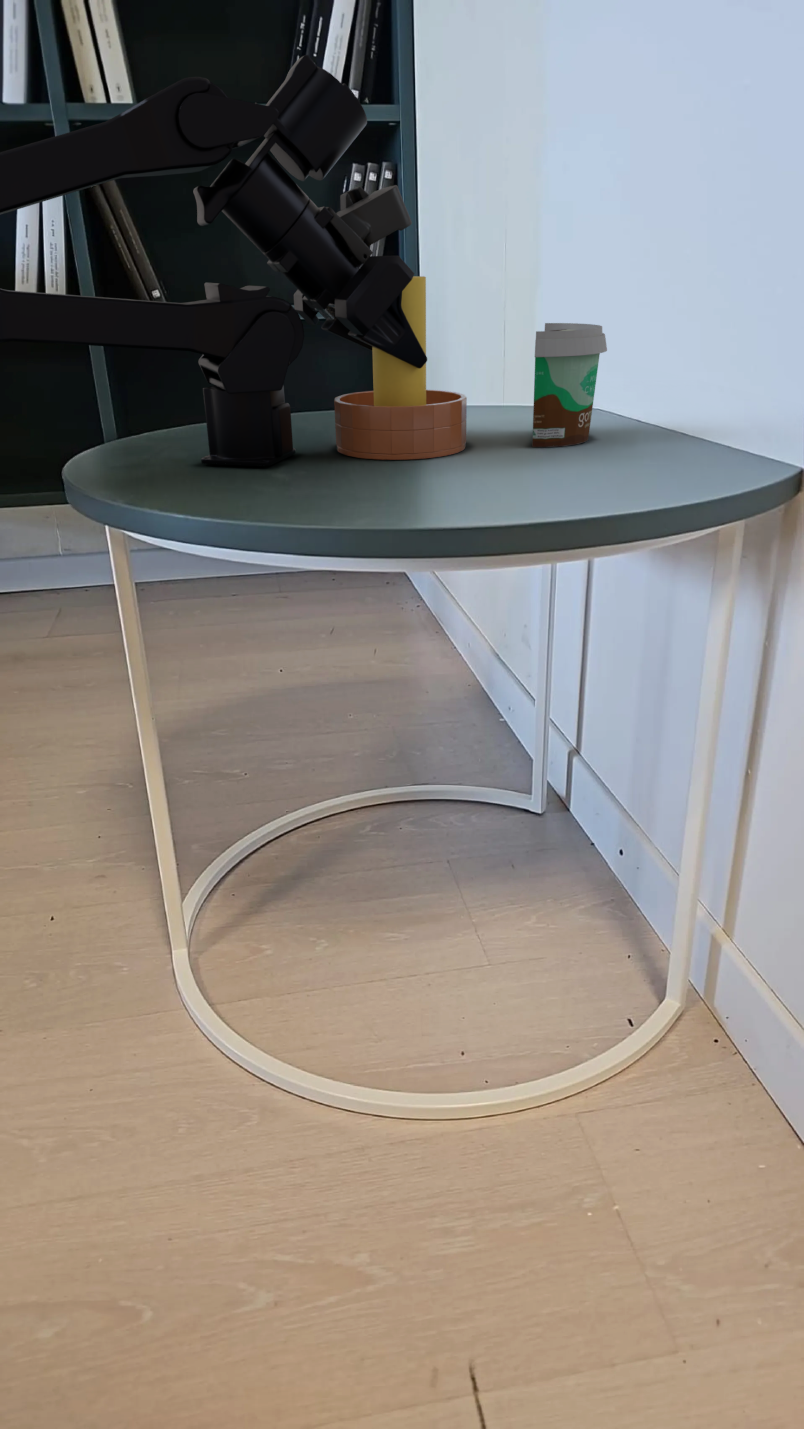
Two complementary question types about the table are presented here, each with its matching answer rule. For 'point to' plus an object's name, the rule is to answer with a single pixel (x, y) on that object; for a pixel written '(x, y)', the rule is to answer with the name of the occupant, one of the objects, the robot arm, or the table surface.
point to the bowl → (400, 426)
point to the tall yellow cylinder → (393, 375)
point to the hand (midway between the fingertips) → (413, 361)
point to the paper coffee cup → (565, 382)
